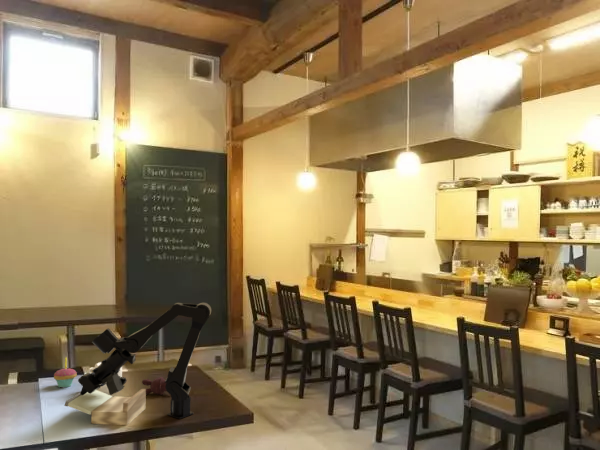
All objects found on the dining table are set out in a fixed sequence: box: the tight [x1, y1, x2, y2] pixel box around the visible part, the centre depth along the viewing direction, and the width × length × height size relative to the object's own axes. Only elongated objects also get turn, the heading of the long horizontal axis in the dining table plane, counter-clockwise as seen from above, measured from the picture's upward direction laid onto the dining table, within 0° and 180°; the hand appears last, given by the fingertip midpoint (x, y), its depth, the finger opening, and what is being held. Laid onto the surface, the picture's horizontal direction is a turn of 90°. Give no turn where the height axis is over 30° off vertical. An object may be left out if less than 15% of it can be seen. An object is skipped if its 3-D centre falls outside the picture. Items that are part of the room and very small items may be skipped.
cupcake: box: [53, 356, 78, 388], centre depth 206 cm, size 9×8×12 cm
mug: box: [87, 361, 123, 395], centre depth 200 cm, size 14×10×11 cm
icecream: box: [141, 376, 167, 396], centre depth 197 cm, size 7×7×15 cm
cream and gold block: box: [90, 388, 147, 426], centre depth 172 cm, size 12×16×7 cm
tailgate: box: [63, 390, 113, 416], centre depth 173 cm, size 2×16×9 cm
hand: (81, 394), depth 173 cm, fingers closed
